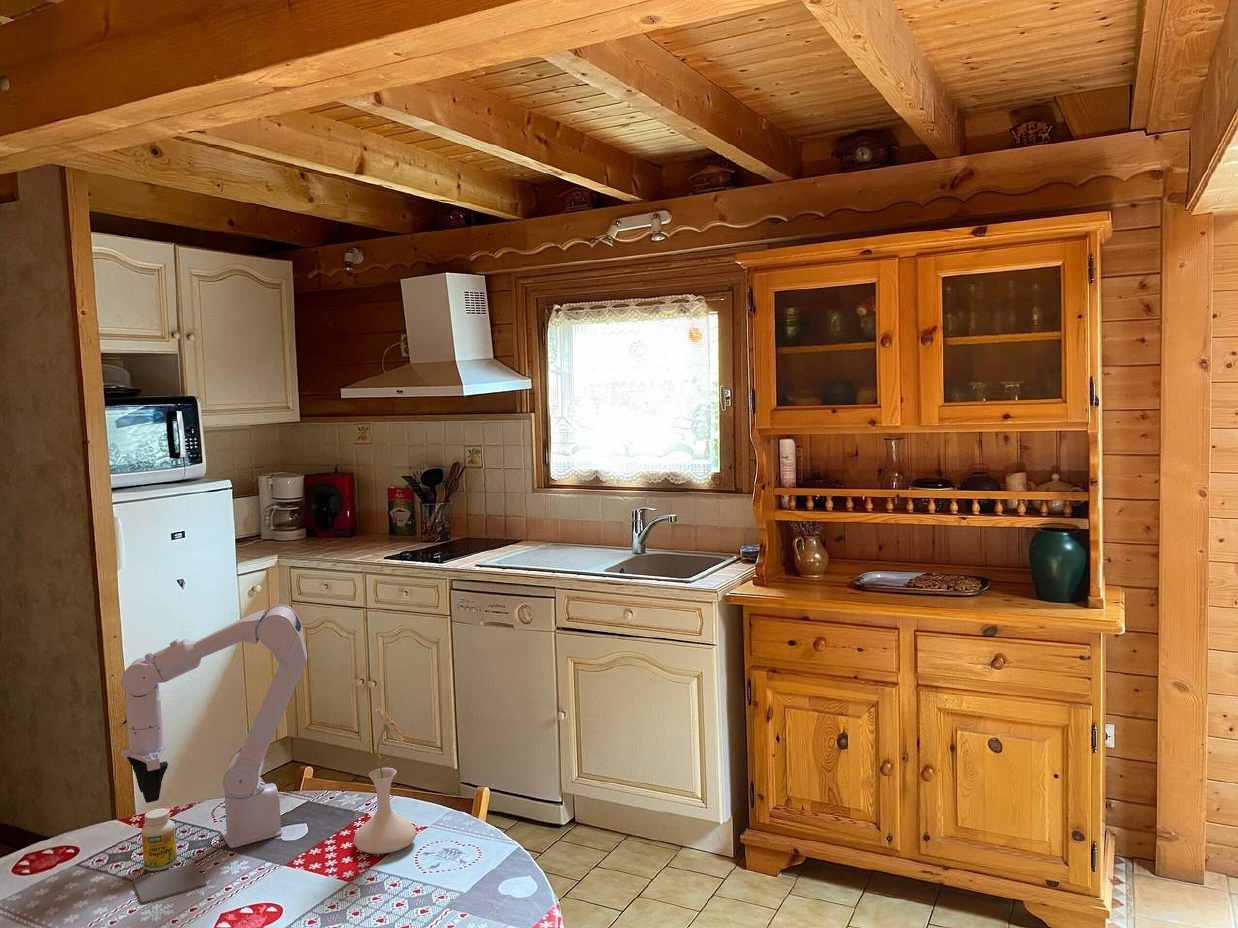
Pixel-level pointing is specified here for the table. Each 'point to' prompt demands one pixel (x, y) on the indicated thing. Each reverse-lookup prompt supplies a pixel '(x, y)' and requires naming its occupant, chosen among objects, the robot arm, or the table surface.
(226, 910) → the table surface
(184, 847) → the table surface
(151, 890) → the mat
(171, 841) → the supplement bottle
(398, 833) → the flower in vase
